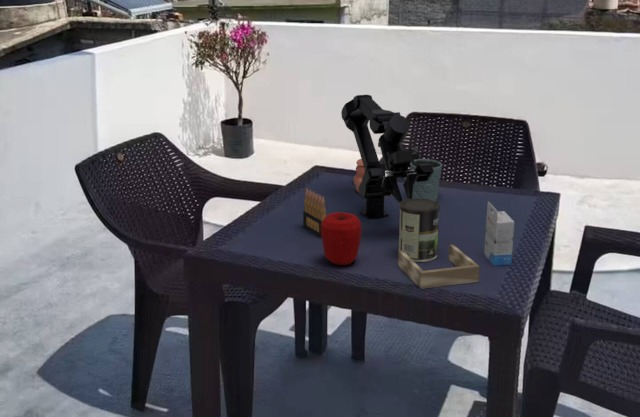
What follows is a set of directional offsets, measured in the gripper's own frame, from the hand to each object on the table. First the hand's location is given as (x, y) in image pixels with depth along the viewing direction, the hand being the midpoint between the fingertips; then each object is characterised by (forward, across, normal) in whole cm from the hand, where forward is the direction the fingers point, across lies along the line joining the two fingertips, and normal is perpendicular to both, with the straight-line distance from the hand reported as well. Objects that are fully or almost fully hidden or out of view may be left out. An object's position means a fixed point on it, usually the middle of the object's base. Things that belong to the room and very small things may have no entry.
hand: (406, 202), depth 211 cm
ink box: (+21, +18, -4) cm, 28 cm away
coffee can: (+15, 0, +2) cm, 15 cm away
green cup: (-15, +20, +32) cm, 41 cm away
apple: (+14, -21, +3) cm, 25 cm away
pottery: (-26, +7, +43) cm, 51 cm away
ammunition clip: (-2, -21, +19) cm, 29 cm away
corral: (+23, 0, -7) cm, 24 cm away
